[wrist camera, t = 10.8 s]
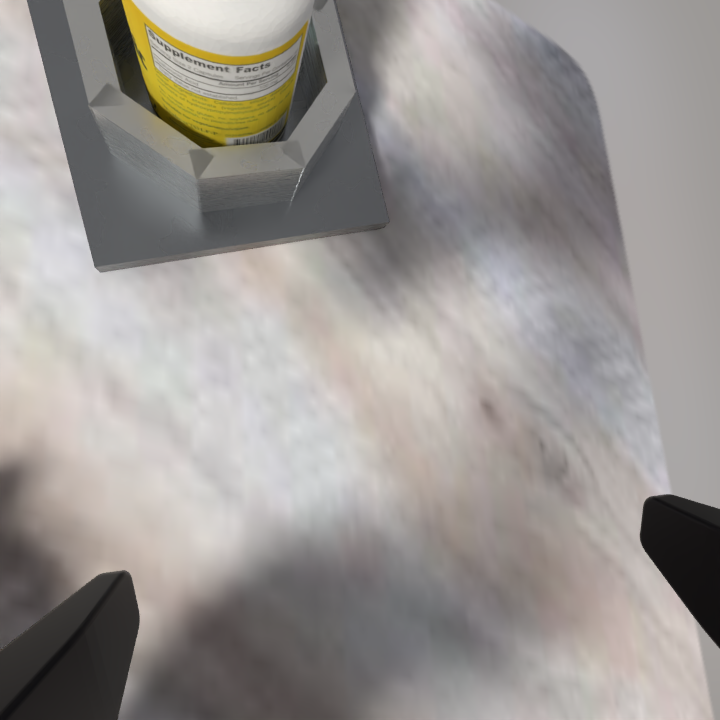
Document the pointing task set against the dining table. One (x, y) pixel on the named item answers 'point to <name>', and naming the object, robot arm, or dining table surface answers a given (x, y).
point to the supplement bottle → (221, 65)
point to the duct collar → (202, 149)
